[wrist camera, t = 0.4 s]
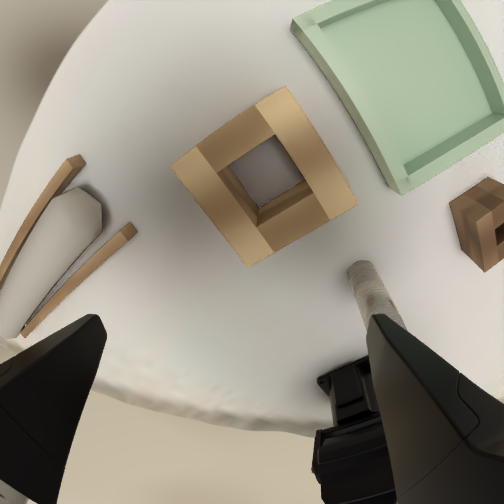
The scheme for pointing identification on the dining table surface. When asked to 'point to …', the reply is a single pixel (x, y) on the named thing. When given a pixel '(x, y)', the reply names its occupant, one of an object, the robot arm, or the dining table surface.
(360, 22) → the tray
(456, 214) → the walnut block
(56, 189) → the tube rest
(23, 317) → the tube
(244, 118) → the oak block
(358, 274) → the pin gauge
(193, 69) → the dining table surface
